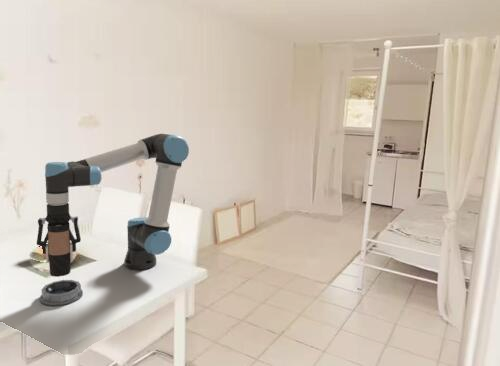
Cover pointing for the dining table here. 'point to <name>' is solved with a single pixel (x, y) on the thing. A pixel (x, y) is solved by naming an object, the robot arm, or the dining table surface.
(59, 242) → the travel mug
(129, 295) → the dining table surface
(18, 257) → the dining table surface
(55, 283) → the collar
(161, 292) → the dining table surface
